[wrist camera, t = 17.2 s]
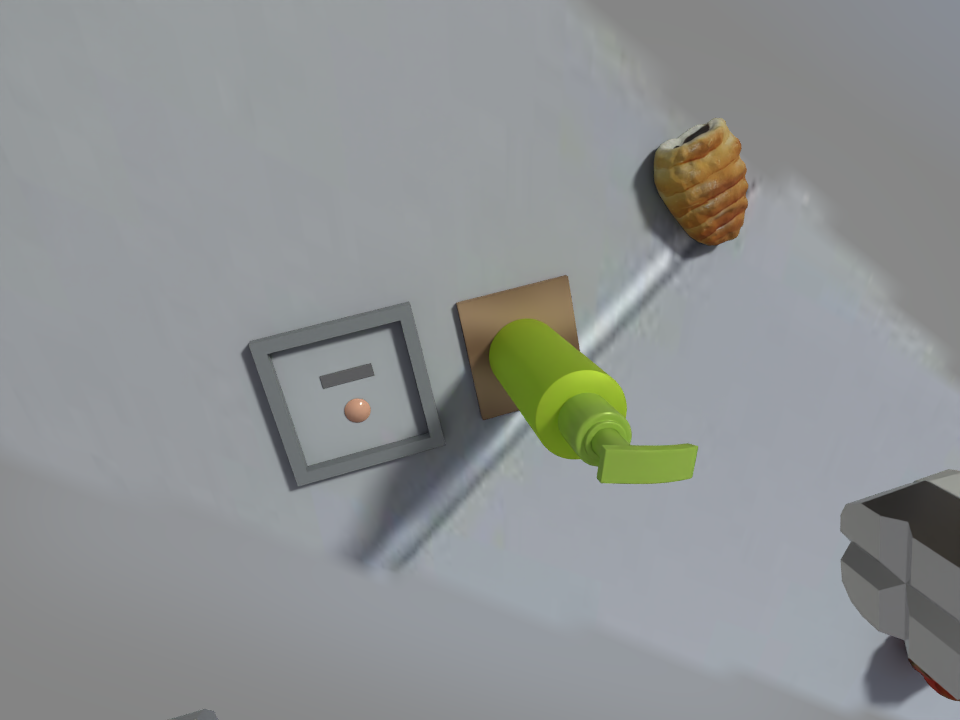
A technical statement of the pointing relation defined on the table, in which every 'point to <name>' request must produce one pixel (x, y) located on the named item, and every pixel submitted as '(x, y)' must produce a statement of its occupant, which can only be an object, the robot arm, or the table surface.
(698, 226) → the pastry
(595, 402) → the soap dispenser
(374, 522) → the table surface
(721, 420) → the table surface
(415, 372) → the slate frame
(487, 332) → the walnut pad
